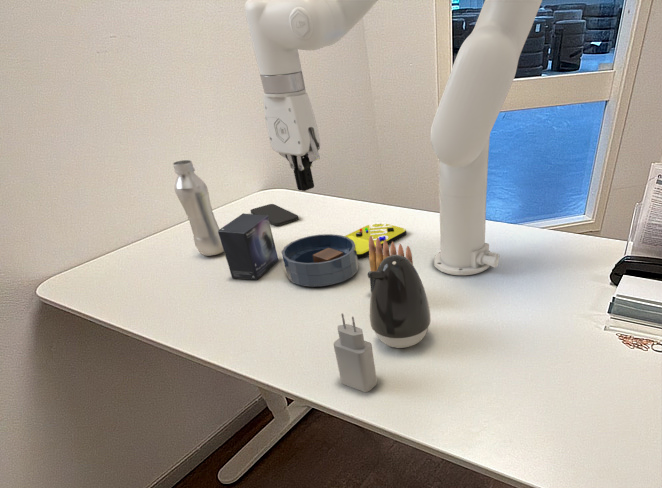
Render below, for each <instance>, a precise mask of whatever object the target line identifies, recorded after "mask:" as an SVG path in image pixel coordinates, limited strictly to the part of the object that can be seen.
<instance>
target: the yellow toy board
mask: <svg viewBox="0 0 662 488" xmlns="http://www.w3.org/2000/svg"><path fill="white" fill-rule="evenodd" d="M344 236H345V237H348V238H350V239H351V240H353V241H354V243H355V245H356V252H357V259H361V260H362V259H364V258H367V257H369V237H370V236H372V238H373V241H374V244H375V250H376V240H377V238H379V240H380V242H381V246H382V249H383V243H384V240H386V241H387V244H388V246H389V245H391V243H392V242H393V243H395V242H396V241H399V240H400V239H402V238H403V237H406V236H407V229H406V228H405V227H401V226H396V225H393V224H390V223H385V222H374V223H370V224H367V225H365V226H362V227H361V228H359V229H356V230H354V231H351V232H350V233H348V234H345V235H344Z"/></svg>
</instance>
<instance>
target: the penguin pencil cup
mask: <svg viewBox="0 0 662 488" xmlns="http://www.w3.org/2000/svg"><path fill="white" fill-rule="evenodd" d="M367 277H368V279H369V280H370V279H374V282H373V286H372V291H371V290H370V301H369V323H370V328H371V329H372V330H373V332H374V333H375V336H376V337H377V338H378V340H379V341H381V342H382V343H383V344H384V345H386V346H388V347H392V348H397V349H404V348H410V347H413V346H416V345H417V344H418V343H420V342H421V341H422V340H423V339H424V338H425V336H426V334H427V332H428V329H429V327H430V325H431V322H432V321H431V320H432V317H431V309H430V305H429V300H428V295H427V293H426V289H425V286H424V283H423V281H422V279H421V277H420V275H419V273H418V271H417V269H416V268H415V266H414V264H413V265H412V263H411V262H410V261H409V260H408V259H407V258H406V256H405V255H404V256H401V255H398V254H397V255H391V256H388V257H386V258H385V259H384V260H383V261H382V262H381V263H380V265H379V267H378V269H377V271H368V272H367Z"/></svg>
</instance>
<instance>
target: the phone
mask: <svg viewBox="0 0 662 488" xmlns="http://www.w3.org/2000/svg"><path fill="white" fill-rule="evenodd" d="M250 214H255V215H268V219H269V223H270V225H273V226H275V227H278V226H282V225H285V224H289V223H292V222H294V221H299V215H298V214H296V213H294V212H292V211H290V210H287V209H285V208H283V207H281V206H279V205H278V204H277V205H276V204H274V203H269V204H265V205H261V206H258V207H255V208H251V209H250Z"/></svg>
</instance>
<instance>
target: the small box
mask: <svg viewBox="0 0 662 488" xmlns="http://www.w3.org/2000/svg"><path fill="white" fill-rule="evenodd" d="M218 234H219V237H220V240H221V243H222V247H223V250H224V252H223V253H224V256H225V259H226V263H227V265H228V268H229V272H230V275H231V279H241V280H251V281H257V280H259V279H260V278H261V277H262V276H264V274H265V273H267V272H268V271H269V270H270V269H271V268H272V267H273V266H274V265H275V264H277V262H279V256H278V252H277V248H276V244H275V243H276V242H275V240H274V236H273V232H272V227H271V223H269V219H268V215H255V214H252V213H242V214H240V215H239V216H237V217H236V218H234V219H233V220H231V221H230V222H228V223H227V224H225V225H224V226H223V227H221V228H219V230H218Z"/></svg>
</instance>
